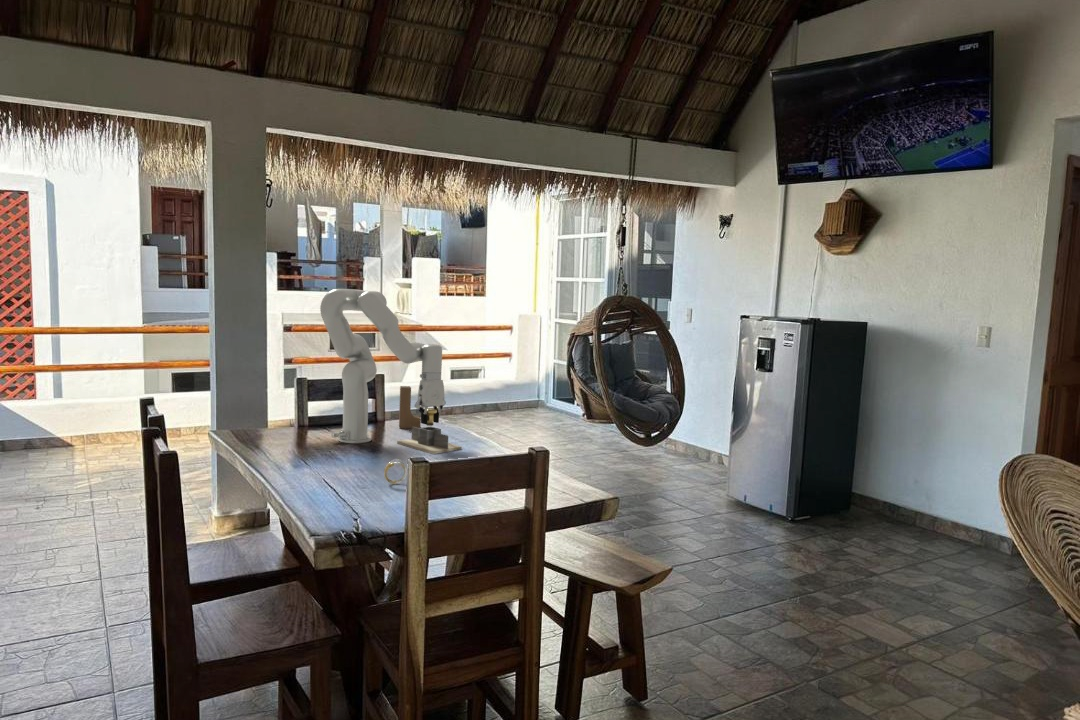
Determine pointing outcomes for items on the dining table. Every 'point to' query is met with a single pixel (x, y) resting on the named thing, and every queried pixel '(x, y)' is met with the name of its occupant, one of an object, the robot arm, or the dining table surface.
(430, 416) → the round gold knob
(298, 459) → the dining table surface
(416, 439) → the hinge base
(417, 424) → the wooden block
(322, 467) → the dining table surface
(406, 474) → the ring
